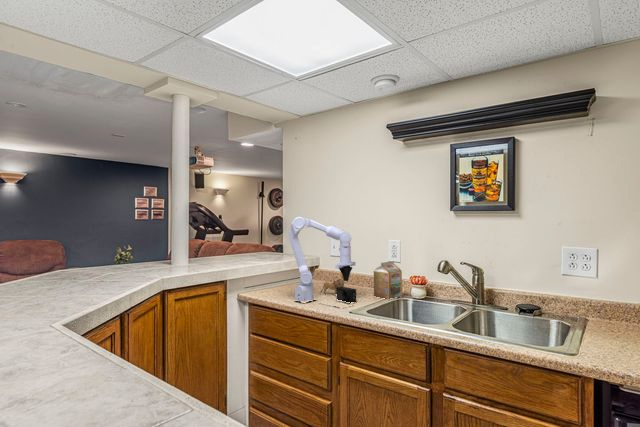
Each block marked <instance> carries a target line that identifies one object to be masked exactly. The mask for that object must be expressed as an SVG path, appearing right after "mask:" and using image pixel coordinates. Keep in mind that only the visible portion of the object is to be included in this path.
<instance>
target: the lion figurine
mask: <svg viewBox="0 0 640 427" xmlns="http://www.w3.org/2000/svg"><path fill="white" fill-rule="evenodd" d="M337 287H345V281H344V280H343V278H339V279H337V280H335V281H333V282H329V281H326V282H324V284H323V286H322V289H321V291H320V292H321V293H324V292H325V293H327V290H328V289H329V290H332V291H334V295H335V294H337V293H336V288H337ZM325 293H324V294H325Z"/></svg>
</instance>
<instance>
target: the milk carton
mask: <svg viewBox="0 0 640 427" xmlns="http://www.w3.org/2000/svg"><path fill="white" fill-rule="evenodd" d="M402 272H403V271H402V269H401V268H400V267H399V266H398V265H397V264H395V261H394V260H391V261H384V262H380V265H379V266H378V267H376V268H375V269H374V270H373V297H374V296H376V297H380V298H379V299H381V298H385V299H390V298H395V297H400V296H402V297H403V281H402V280H403V275H402V274H403V273H402ZM376 297H375V298H376ZM385 299H384V300H385Z"/></svg>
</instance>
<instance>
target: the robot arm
mask: <svg viewBox="0 0 640 427" xmlns="http://www.w3.org/2000/svg"><path fill="white" fill-rule="evenodd" d="M304 228H314V229H315V230H319V231H322V232H323V233H325V235H326V236H327V237H328V238H331V239H333V240H337V241H339V263H336V264H335V265H334V266H335V267H334V268H335V269H336V270H337V269H338V270H339V271H340V273H341V276H342V279H343V280H344V282H348V281H349V279H350V274H351V272H352V270H353V266H356V261H352V255H351V253H352V249H351V248H352V247H351V241H352V235H351V234H350V233H349V232H347V231H345V230H344V229H340V228H337V227H336V226H335V225H329V226H326V225H323V224H322V223H319V222H317V221H315V220H314V219H309V218H307V217H305V218H304V217H302V216H297V217H295V218H294V219H293V221H292V222H291V223H290V228H289V231H288V234H287V236H288V239H289V242H290V245H291V248H292V251H293V255H294V259H295V261H296V264H297V267H298V270H299V275H300V276H299V280H300V281H299V283H298V285H296V286H295V288H294V300H298V301H307V300H313V299H314V282H313V274H312V271H311V270H310V269H309V268H308V265H307V262H306V259H305V255H304V252H303V250H302V246H301V243H300V240H299V237H298V236H299V234H300V232H301V231H302V230H303V229H304Z"/></svg>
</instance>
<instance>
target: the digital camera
mask: <svg viewBox="0 0 640 427" xmlns="http://www.w3.org/2000/svg"><path fill="white" fill-rule="evenodd" d="M336 293H337V296H336V300H337V299H338V300H342V301H346V302H350V303H351V302H356V303H357V288H353V287H352V288H351V287H345V286H343V287H337V288H336Z"/></svg>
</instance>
